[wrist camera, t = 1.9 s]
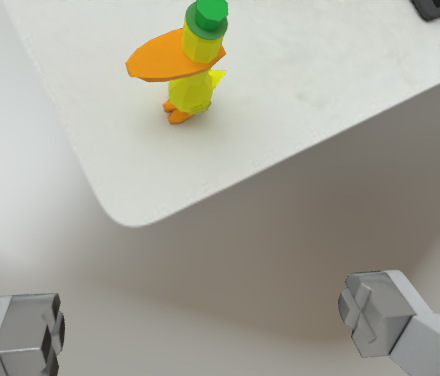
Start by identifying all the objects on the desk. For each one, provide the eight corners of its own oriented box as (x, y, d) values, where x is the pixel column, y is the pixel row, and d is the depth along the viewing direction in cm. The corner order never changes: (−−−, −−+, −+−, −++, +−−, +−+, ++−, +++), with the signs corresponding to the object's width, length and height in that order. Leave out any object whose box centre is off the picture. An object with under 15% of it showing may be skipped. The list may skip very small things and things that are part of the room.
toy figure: (143, 147, 28) (138, 64, 16) (125, 104, 28) (107, -7, 16) (224, 117, 29) (274, 23, 18) (206, 77, 30) (243, -41, 18)
